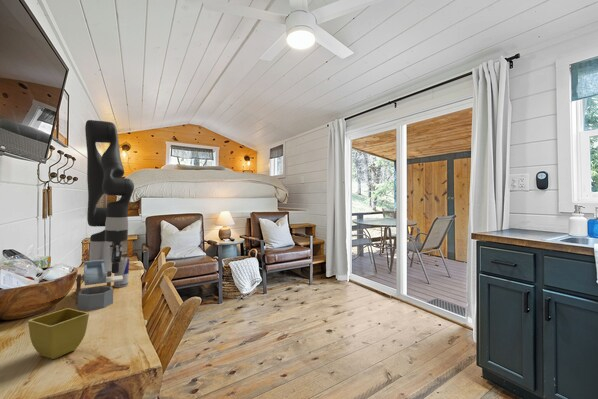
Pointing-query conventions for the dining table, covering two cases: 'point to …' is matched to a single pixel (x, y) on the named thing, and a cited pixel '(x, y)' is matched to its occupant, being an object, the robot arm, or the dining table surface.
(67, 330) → the flower pot
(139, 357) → the dining table surface
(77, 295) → the lever stand
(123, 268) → the energy drink
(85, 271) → the ramp lever
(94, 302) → the gray octagonal bowl
